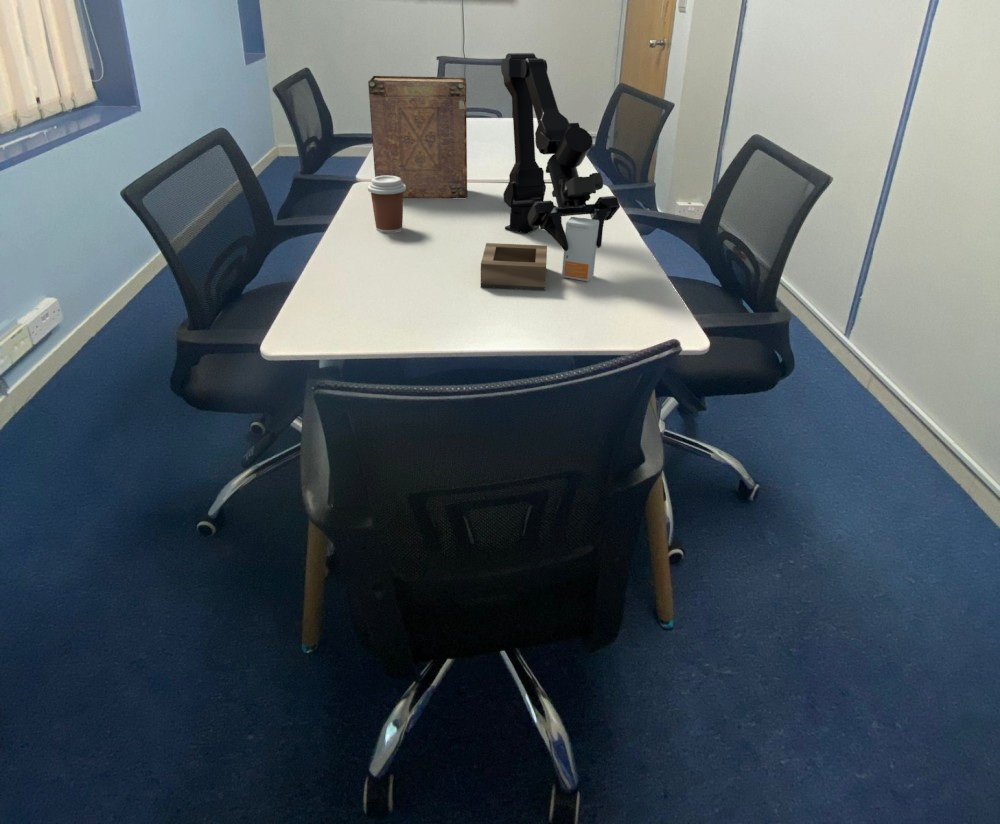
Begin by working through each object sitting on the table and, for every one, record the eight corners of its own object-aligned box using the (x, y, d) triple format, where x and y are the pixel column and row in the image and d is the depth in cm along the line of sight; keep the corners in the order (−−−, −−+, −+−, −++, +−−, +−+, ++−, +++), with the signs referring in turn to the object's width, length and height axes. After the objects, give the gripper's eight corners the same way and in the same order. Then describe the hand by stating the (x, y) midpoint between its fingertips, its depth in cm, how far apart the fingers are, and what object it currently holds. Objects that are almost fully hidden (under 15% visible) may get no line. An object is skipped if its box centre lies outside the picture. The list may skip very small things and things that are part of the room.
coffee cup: (365, 225, 178) (361, 176, 172) (400, 221, 182) (397, 172, 176) (377, 236, 172) (374, 185, 165) (413, 231, 175) (411, 181, 169)
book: (466, 190, 209) (466, 77, 194) (467, 198, 202) (467, 81, 186) (378, 189, 208) (371, 75, 192) (375, 197, 200) (368, 80, 184)
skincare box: (561, 278, 151) (565, 221, 145) (566, 271, 154) (570, 216, 148) (589, 282, 149) (594, 225, 143) (594, 275, 153) (599, 219, 146)
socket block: (486, 265, 156) (486, 242, 154) (545, 268, 156) (547, 245, 153) (480, 287, 145) (480, 263, 143) (544, 290, 145) (546, 266, 142)
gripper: (535, 160, 140) (553, 233, 137) (621, 155, 145) (640, 225, 142) (519, 191, 150) (536, 259, 147) (600, 185, 156) (618, 251, 153)
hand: (583, 248), depth 147 cm, fingers closed on skincare box, 7 cm apart
